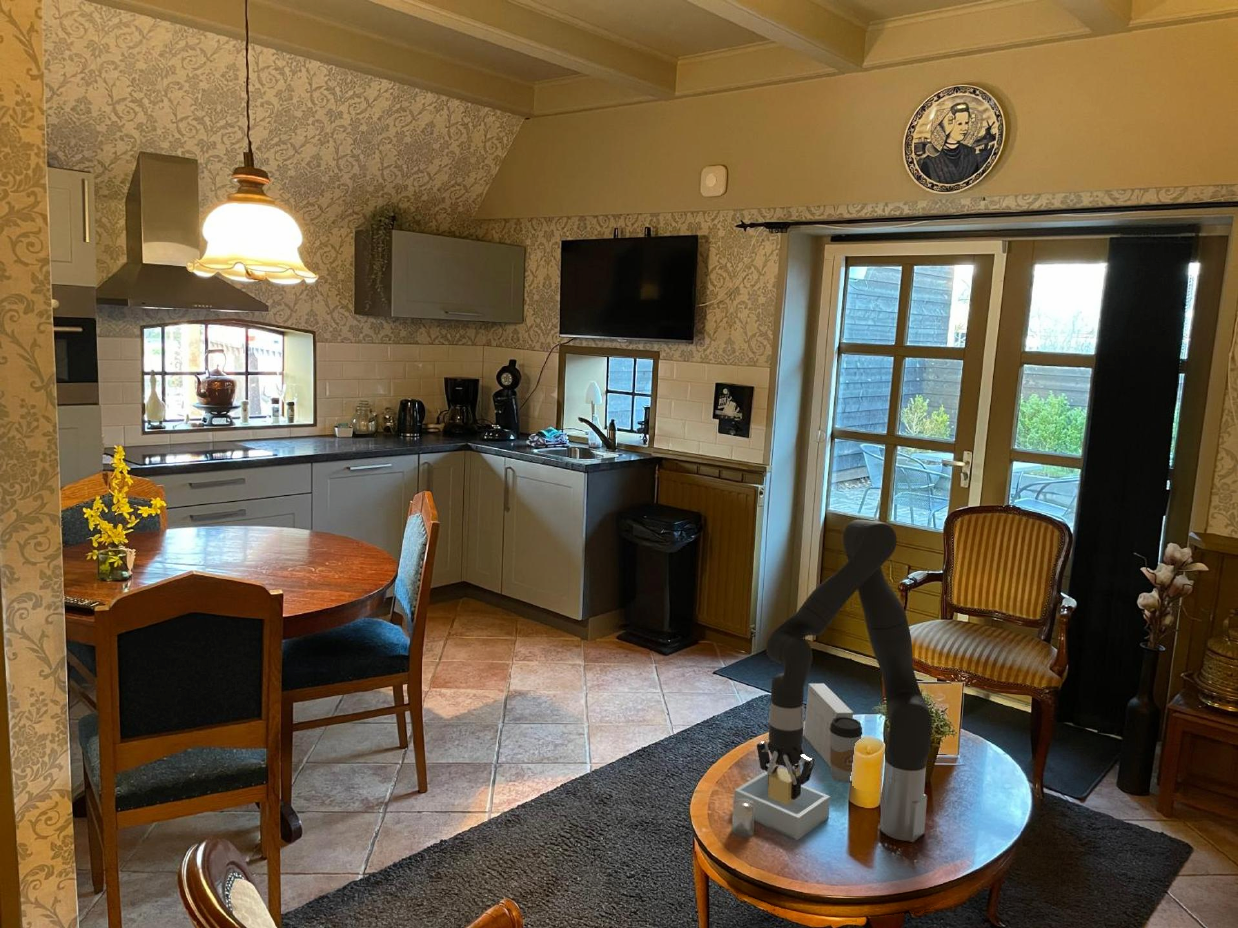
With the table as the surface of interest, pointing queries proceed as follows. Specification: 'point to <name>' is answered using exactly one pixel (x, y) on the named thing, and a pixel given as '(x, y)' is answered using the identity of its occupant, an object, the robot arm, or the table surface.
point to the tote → (785, 808)
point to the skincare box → (822, 717)
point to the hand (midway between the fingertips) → (783, 793)
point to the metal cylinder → (743, 817)
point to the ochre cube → (780, 786)
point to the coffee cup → (843, 746)
